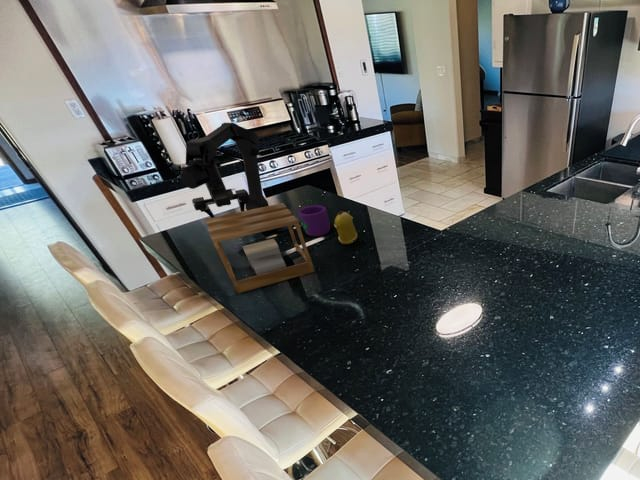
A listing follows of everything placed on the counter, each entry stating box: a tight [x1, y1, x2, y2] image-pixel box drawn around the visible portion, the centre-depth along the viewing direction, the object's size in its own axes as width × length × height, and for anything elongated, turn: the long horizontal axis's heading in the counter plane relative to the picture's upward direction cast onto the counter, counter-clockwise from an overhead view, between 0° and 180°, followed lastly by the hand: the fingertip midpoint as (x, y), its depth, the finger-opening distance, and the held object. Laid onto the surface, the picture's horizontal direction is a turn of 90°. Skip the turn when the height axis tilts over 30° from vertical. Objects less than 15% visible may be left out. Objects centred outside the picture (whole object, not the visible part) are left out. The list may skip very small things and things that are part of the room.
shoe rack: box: [204, 202, 316, 294], centre depth 143 cm, size 22×26×19 cm
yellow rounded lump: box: [333, 210, 359, 245], centre depth 161 cm, size 12×8×15 cm
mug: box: [297, 204, 331, 237], centre depth 173 cm, size 17×11×10 cm, turn 44°
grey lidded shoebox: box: [241, 238, 288, 276], centre depth 147 cm, size 11×16×8 cm
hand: (231, 221), depth 155 cm, fingers open, 9 cm apart
